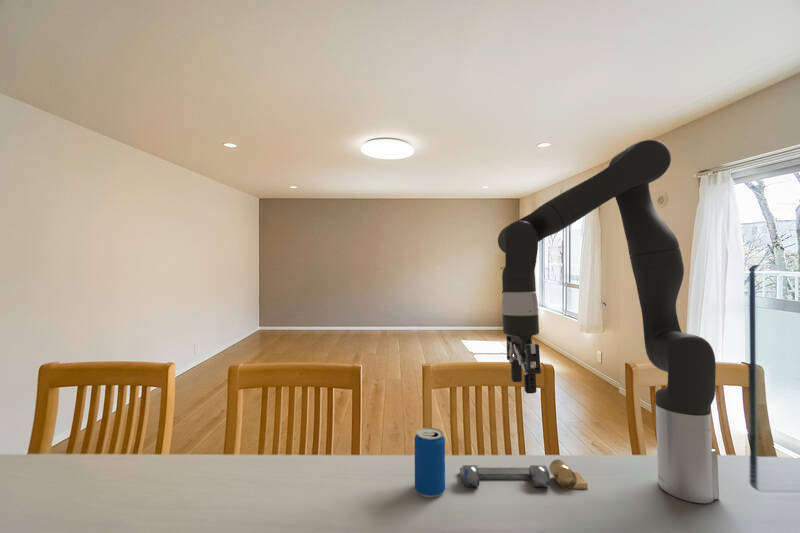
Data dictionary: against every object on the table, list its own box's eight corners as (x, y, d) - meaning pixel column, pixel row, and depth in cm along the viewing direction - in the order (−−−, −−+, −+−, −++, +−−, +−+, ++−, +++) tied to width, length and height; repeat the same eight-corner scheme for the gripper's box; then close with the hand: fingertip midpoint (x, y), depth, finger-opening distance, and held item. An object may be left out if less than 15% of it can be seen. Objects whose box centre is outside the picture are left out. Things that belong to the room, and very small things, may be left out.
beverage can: (444, 501, 71) (443, 440, 72) (412, 497, 72) (412, 437, 73) (446, 483, 77) (446, 427, 78) (417, 480, 79) (417, 425, 79)
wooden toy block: (549, 477, 80) (549, 459, 80) (577, 477, 80) (576, 459, 80) (558, 489, 76) (557, 469, 76) (587, 489, 76) (587, 469, 76)
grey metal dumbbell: (537, 473, 82) (537, 455, 82) (550, 490, 75) (549, 471, 75) (459, 472, 82) (459, 455, 82) (465, 490, 75) (465, 471, 75)
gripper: (550, 314, 71) (554, 396, 70) (525, 309, 85) (528, 377, 84) (513, 315, 71) (517, 397, 70) (494, 310, 85) (497, 378, 84)
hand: (523, 386), depth 77 cm, fingers open, 8 cm apart
